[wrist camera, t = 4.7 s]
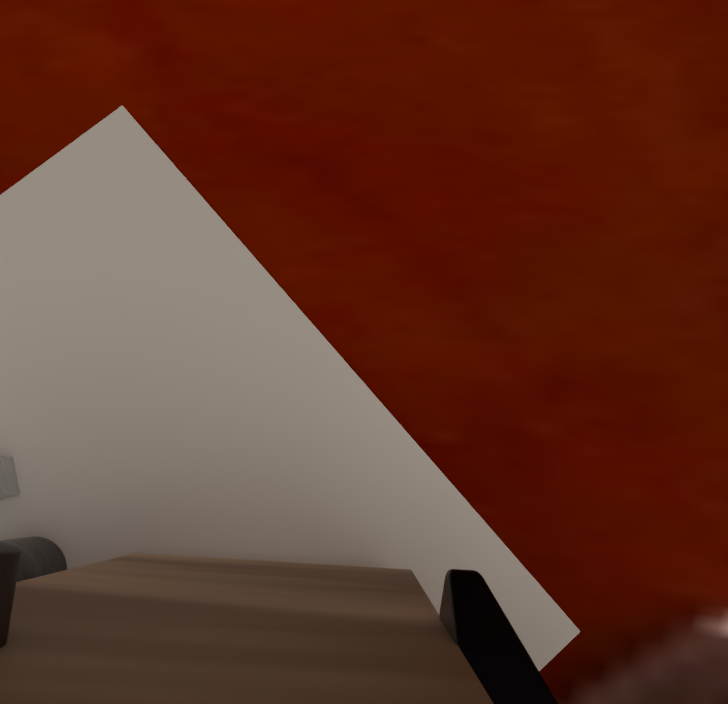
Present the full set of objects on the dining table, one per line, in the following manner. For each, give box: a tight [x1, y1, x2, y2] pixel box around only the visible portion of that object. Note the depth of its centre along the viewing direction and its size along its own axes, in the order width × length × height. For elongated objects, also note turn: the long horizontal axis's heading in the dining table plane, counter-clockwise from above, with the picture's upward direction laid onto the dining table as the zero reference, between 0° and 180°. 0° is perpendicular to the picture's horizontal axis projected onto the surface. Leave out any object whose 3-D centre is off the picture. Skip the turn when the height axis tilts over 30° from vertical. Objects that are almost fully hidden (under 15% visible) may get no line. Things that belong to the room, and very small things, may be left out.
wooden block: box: [0, 547, 493, 704], centre depth 9 cm, size 3×6×12 cm, turn 87°
